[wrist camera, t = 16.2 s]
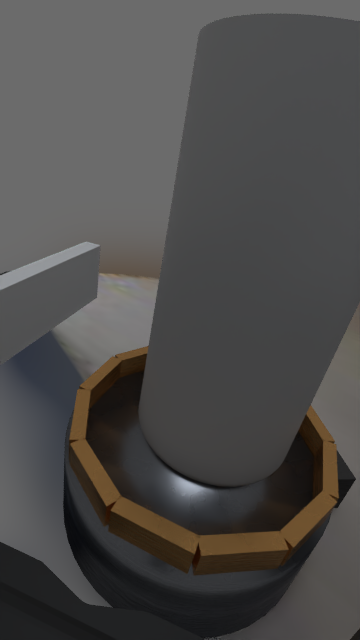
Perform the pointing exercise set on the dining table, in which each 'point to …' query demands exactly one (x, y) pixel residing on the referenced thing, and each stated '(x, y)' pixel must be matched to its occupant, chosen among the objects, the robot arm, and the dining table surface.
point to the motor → (187, 514)
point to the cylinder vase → (256, 245)
